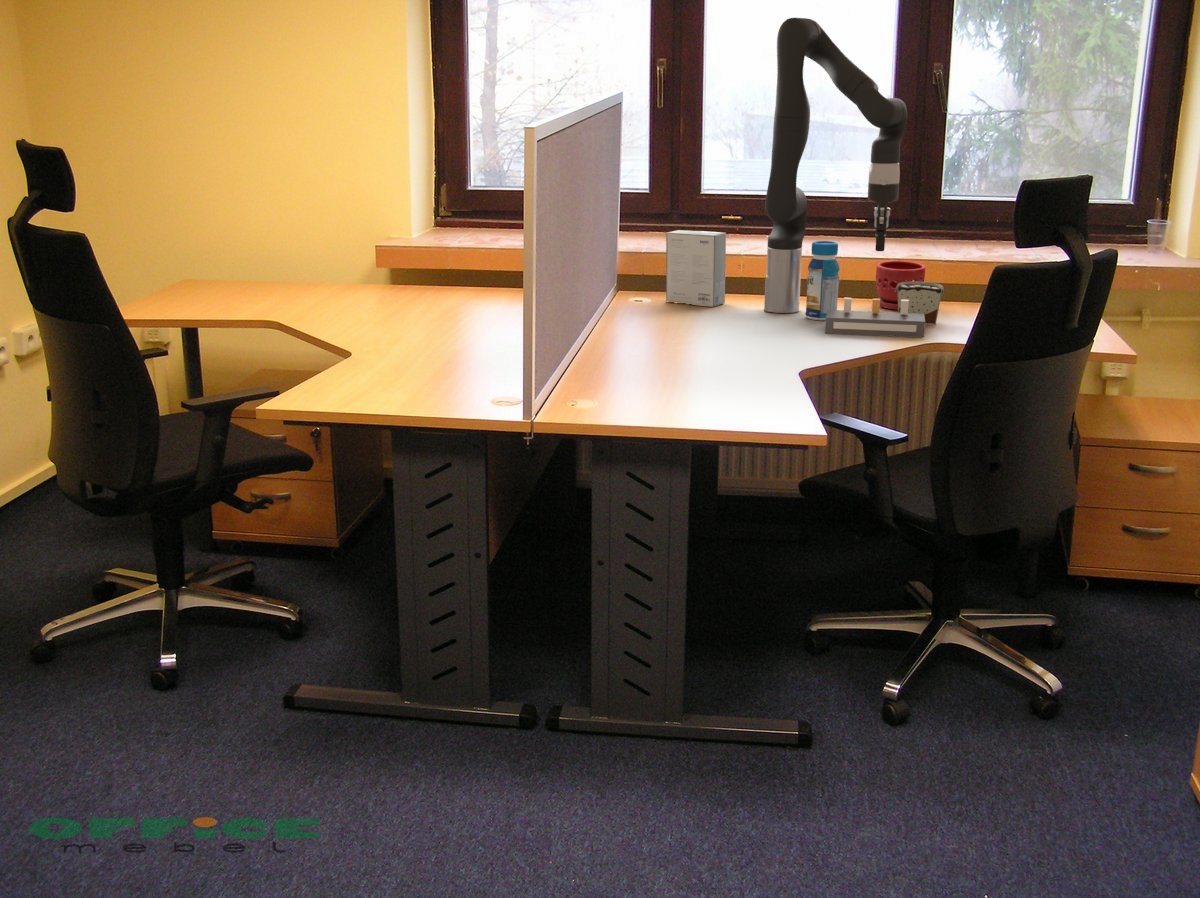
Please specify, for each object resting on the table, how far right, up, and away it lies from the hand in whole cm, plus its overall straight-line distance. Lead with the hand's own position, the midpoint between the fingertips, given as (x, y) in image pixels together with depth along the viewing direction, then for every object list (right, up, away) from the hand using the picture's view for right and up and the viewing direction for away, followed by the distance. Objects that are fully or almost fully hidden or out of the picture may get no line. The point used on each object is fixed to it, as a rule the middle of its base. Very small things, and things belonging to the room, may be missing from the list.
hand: (879, 250), depth 297 cm
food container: (+12, -17, +9) cm, 23 cm away
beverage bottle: (-13, -16, +13) cm, 24 cm away
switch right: (+5, -17, -4) cm, 18 cm away
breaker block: (-2, -21, -3) cm, 21 cm away
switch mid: (-2, -16, -2) cm, 16 cm away
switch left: (-8, -16, -1) cm, 18 cm away
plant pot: (+11, -11, +26) cm, 31 cm away
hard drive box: (-44, -9, +34) cm, 57 cm away
